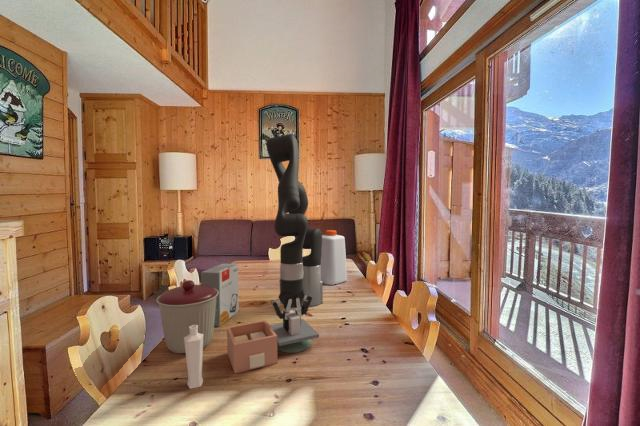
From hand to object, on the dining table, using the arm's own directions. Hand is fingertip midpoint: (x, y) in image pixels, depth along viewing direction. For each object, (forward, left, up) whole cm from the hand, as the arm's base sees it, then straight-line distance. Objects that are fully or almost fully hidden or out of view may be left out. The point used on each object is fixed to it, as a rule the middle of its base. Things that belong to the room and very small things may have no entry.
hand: (292, 328), depth 99 cm
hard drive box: (+18, -31, -5) cm, 36 cm away
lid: (0, 0, -1) cm, 1 cm away
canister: (+30, -13, -5) cm, 33 cm away
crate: (+14, +3, -5) cm, 15 cm away
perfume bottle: (+30, +9, -5) cm, 32 cm away
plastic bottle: (-44, -57, -5) cm, 72 cm away
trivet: (0, 0, -5) cm, 5 cm away
